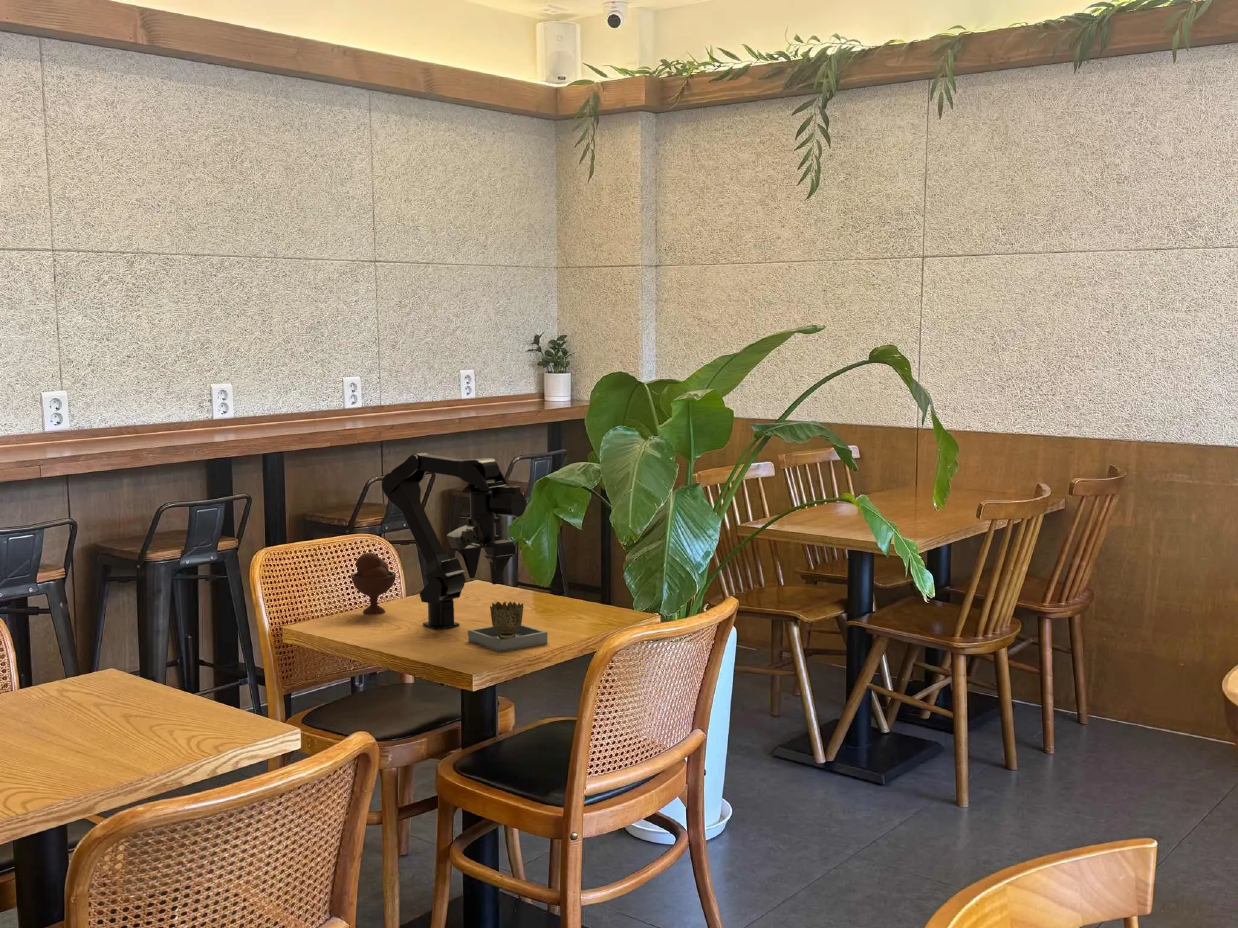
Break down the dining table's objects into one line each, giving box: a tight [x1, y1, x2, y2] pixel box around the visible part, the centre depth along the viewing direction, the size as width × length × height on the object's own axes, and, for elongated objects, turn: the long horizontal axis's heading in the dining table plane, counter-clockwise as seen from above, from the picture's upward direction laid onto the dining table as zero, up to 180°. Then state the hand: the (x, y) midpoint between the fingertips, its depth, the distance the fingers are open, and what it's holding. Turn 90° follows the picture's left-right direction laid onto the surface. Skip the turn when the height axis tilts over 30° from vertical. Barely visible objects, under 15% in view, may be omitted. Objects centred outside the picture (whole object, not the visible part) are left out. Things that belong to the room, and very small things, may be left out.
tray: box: [467, 623, 548, 653], centre depth 273 cm, size 13×13×2 cm
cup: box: [489, 601, 524, 640], centre depth 273 cm, size 8×7×8 cm
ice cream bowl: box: [350, 552, 397, 616], centre depth 303 cm, size 11×11×15 cm
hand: (483, 581), depth 281 cm, fingers open, 9 cm apart
